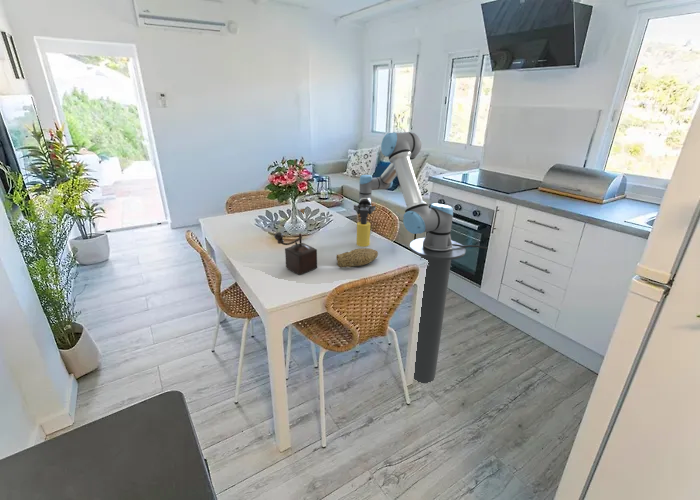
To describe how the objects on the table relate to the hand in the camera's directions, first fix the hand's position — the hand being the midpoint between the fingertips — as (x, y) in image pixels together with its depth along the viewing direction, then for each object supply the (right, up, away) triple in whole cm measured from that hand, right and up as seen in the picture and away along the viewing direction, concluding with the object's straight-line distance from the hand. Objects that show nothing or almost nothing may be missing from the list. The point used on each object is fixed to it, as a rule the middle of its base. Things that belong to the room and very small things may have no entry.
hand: (363, 215), depth 187 cm
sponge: (-4, -25, -24) cm, 35 cm away
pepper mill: (-31, -27, -31) cm, 52 cm away
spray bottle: (-1, -16, -2) cm, 16 cm away
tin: (-39, -2, +31) cm, 50 cm away
